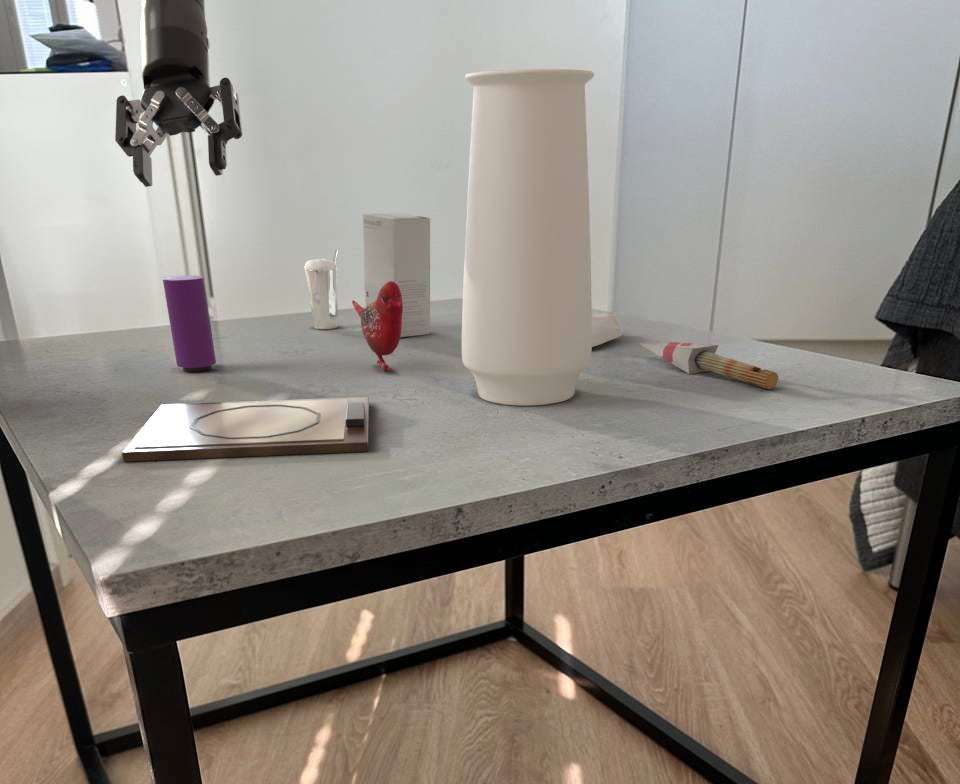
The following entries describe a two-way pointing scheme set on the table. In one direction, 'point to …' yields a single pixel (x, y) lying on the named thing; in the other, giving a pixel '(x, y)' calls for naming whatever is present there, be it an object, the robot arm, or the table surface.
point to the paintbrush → (710, 362)
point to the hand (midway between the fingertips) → (180, 176)
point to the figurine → (604, 328)
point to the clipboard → (252, 429)
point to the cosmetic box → (399, 264)
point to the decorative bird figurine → (382, 321)
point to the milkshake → (323, 292)
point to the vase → (527, 236)
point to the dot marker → (190, 322)
